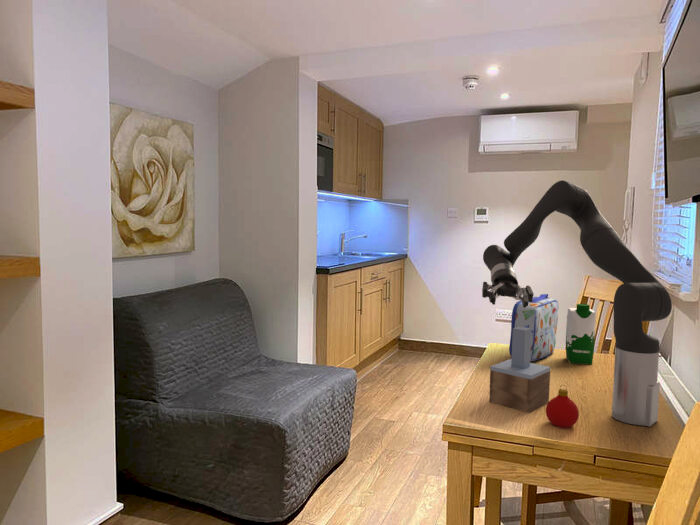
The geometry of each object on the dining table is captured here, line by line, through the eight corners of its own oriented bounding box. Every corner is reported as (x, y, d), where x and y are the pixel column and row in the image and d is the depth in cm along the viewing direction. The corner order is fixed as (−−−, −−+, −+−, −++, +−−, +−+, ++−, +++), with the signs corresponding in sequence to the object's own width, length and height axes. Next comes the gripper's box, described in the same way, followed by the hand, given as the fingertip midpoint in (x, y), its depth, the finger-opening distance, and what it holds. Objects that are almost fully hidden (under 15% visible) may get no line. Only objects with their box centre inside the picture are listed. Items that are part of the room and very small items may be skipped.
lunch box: (531, 346, 200) (533, 289, 198) (559, 351, 194) (562, 292, 192) (505, 361, 178) (507, 297, 177) (535, 366, 172) (538, 300, 170)
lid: (549, 376, 135) (552, 328, 134) (530, 385, 127) (532, 335, 127) (510, 367, 143) (512, 322, 142) (490, 375, 135) (491, 328, 134)
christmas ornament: (574, 422, 124) (576, 381, 123) (581, 434, 117) (583, 391, 116) (542, 420, 125) (544, 379, 124) (547, 431, 118) (549, 388, 118)
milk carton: (567, 363, 176) (570, 305, 175) (563, 357, 185) (565, 301, 184) (595, 365, 175) (598, 306, 173) (589, 358, 183) (592, 302, 182)
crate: (548, 404, 136) (550, 370, 135) (529, 415, 128) (530, 379, 127) (509, 394, 144) (510, 362, 143) (489, 404, 136) (490, 370, 135)
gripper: (481, 266, 162) (485, 289, 147) (529, 270, 160) (538, 293, 145) (478, 287, 165) (482, 312, 150) (525, 292, 163) (533, 317, 148)
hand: (509, 303), depth 148 cm, fingers open, 8 cm apart
